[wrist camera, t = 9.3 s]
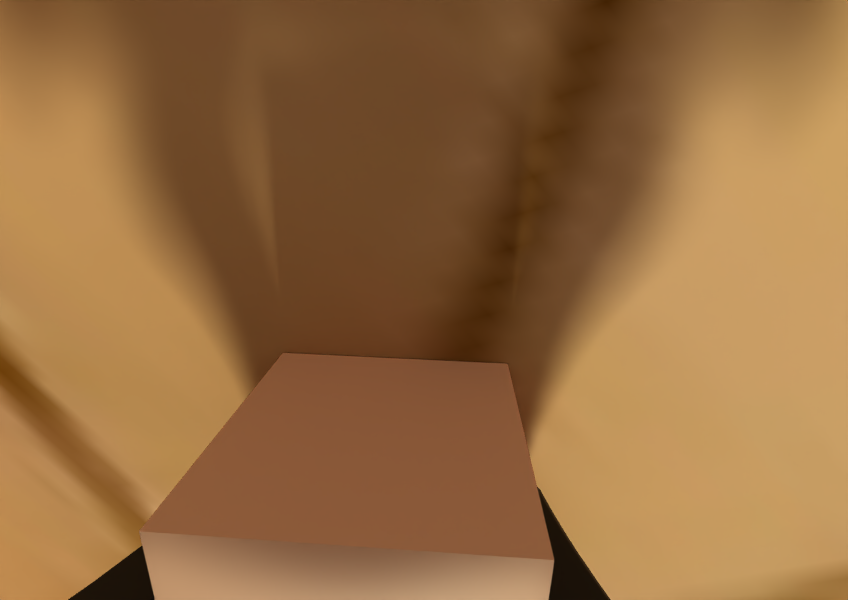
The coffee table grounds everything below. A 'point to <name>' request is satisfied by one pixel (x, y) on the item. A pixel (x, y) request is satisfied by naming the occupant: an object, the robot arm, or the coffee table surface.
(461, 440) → the terracotta block
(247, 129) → the coffee table surface
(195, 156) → the coffee table surface
